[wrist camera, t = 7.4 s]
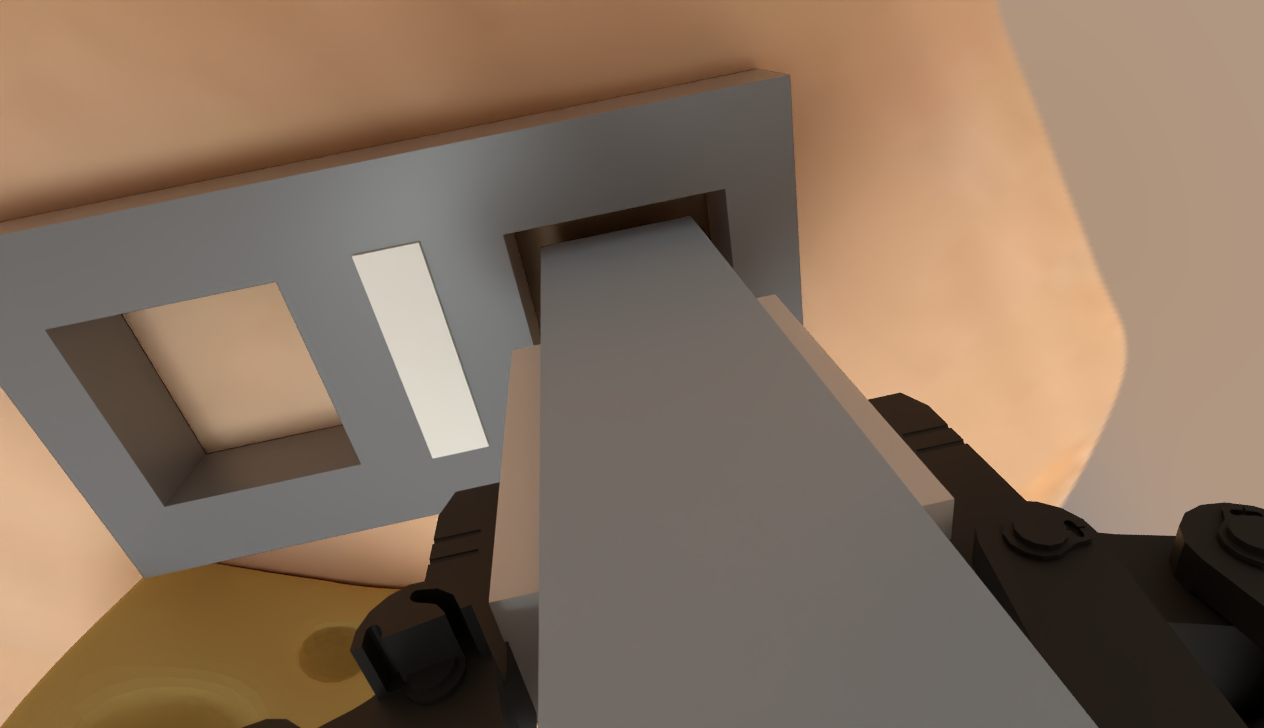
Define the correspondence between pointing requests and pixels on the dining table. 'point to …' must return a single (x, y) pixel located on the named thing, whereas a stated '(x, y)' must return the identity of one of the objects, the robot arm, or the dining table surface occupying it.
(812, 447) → the plug
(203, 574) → the cheese
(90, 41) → the dining table surface
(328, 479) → the port panel
